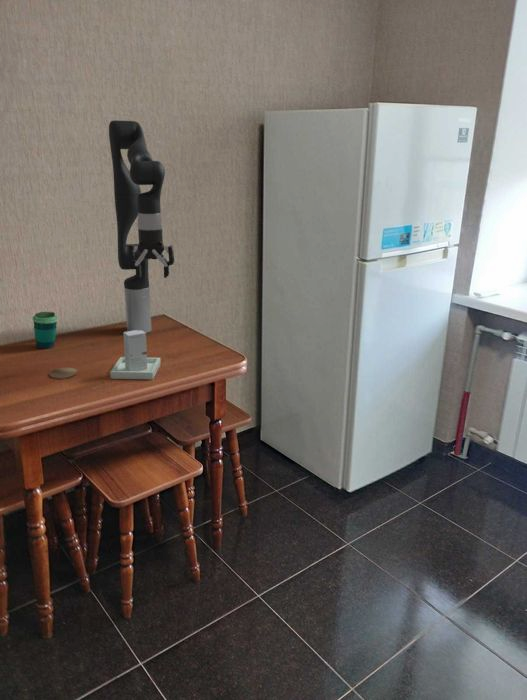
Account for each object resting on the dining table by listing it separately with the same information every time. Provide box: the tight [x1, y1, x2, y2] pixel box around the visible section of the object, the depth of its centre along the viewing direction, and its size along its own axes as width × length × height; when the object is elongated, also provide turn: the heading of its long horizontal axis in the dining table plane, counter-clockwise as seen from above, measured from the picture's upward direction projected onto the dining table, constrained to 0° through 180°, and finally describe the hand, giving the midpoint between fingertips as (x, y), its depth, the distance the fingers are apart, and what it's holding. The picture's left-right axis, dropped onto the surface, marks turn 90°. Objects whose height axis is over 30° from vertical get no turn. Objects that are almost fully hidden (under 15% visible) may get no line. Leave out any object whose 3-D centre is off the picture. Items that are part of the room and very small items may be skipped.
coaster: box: [49, 367, 78, 380], centre depth 177 cm, size 8×8×1 cm
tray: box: [109, 356, 162, 380], centre depth 180 cm, size 13×13×2 cm
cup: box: [32, 311, 59, 350], centre depth 199 cm, size 8×8×12 cm
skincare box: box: [123, 330, 148, 371], centre depth 178 cm, size 6×4×12 cm
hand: (152, 277), depth 186 cm, fingers open, 8 cm apart
